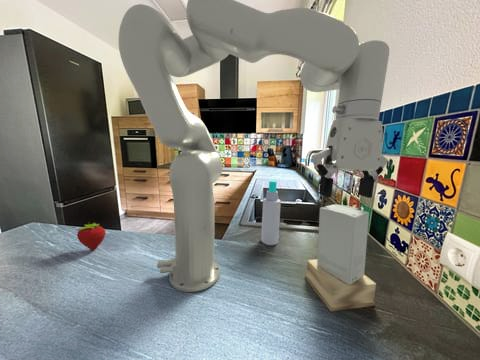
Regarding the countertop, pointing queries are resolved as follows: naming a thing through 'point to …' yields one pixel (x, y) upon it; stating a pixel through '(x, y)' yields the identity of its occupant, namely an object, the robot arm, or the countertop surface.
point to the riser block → (340, 289)
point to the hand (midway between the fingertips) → (345, 196)
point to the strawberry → (91, 235)
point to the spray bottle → (271, 216)
